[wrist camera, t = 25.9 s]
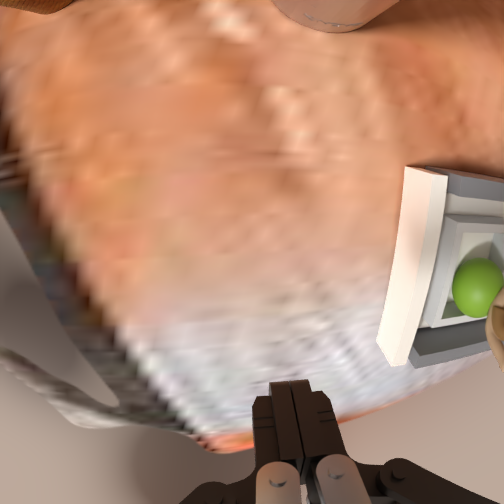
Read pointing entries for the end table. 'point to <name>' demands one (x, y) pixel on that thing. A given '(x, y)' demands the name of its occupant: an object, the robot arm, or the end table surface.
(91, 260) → the end table surface
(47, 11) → the disposable coffee cup
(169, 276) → the end table surface
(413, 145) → the end table surface
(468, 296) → the snail figurine
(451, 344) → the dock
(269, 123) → the end table surface
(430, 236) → the tray
